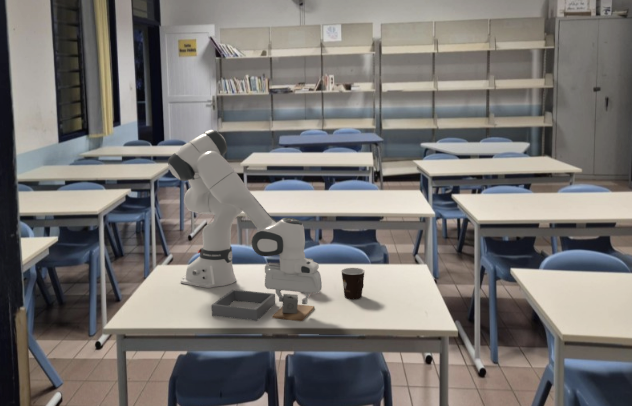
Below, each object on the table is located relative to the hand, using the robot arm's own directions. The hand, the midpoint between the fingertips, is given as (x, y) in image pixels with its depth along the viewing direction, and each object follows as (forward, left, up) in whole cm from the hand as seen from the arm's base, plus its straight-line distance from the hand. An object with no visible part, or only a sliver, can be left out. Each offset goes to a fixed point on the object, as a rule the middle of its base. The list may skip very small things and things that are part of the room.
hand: (293, 302), depth 222 cm
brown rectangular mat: (0, 0, -4) cm, 4 cm away
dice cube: (-1, -1, -3) cm, 3 cm away
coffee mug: (+16, +21, -4) cm, 27 cm away
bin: (-18, -2, -4) cm, 18 cm away
